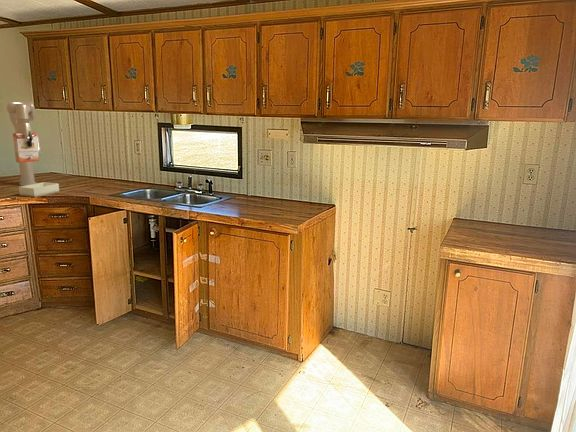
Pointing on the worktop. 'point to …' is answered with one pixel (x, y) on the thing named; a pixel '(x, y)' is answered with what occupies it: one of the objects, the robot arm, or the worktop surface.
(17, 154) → the cracker box
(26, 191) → the bin
